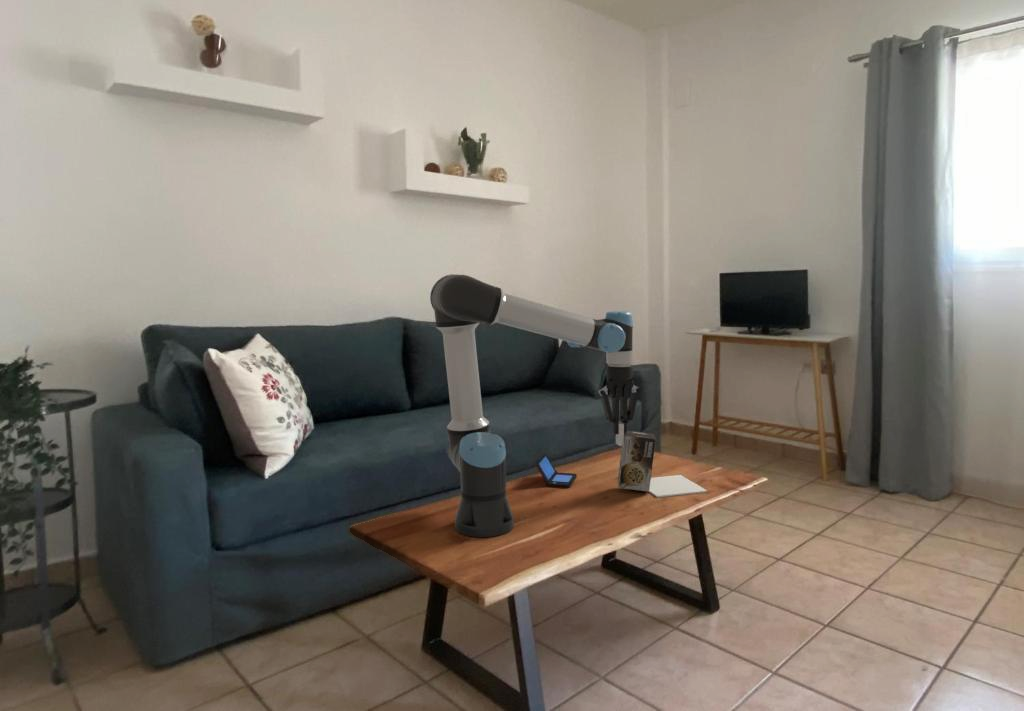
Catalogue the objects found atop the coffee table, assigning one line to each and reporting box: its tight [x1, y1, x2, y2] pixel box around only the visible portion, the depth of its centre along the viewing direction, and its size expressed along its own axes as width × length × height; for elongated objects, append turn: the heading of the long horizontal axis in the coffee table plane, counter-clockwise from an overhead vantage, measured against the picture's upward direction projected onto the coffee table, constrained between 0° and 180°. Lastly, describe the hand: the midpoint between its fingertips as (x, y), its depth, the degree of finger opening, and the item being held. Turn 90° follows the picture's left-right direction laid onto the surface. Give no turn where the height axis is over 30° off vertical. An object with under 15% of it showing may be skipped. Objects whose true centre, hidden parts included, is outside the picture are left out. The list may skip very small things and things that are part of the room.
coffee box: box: [617, 430, 657, 493], centre depth 197 cm, size 9×6×16 cm
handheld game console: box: [535, 453, 578, 489], centre depth 208 cm, size 12×11×7 cm
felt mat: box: [648, 474, 708, 499], centre depth 201 cm, size 16×16×1 cm
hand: (619, 444), depth 196 cm, fingers closed
